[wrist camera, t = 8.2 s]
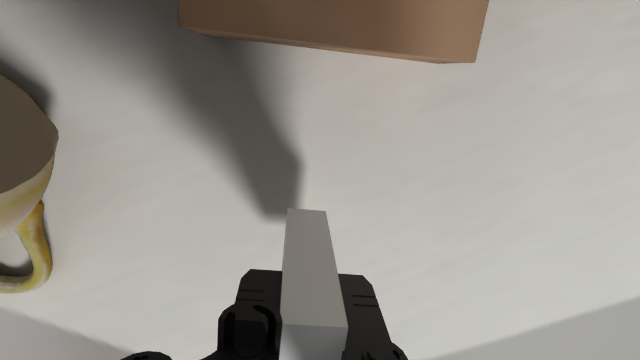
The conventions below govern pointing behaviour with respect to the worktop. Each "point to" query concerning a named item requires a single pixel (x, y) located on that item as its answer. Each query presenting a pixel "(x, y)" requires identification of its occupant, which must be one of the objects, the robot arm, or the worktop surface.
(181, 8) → the slab
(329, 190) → the worktop surface
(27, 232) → the mug
